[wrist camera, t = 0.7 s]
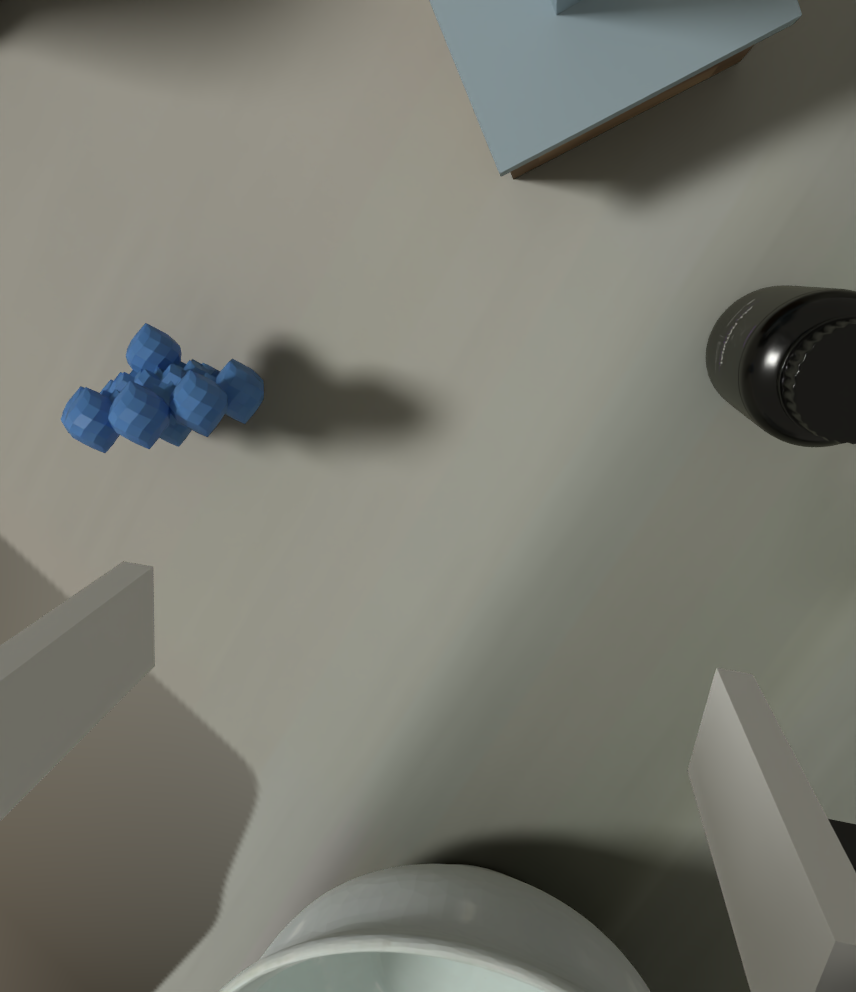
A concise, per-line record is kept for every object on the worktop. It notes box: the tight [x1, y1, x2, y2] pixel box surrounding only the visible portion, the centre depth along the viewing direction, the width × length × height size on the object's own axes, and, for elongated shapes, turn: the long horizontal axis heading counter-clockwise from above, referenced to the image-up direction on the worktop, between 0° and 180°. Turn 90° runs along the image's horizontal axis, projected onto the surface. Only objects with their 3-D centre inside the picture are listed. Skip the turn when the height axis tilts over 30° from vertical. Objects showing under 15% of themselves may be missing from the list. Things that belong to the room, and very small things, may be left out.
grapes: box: [61, 323, 264, 453], centre depth 38 cm, size 12×7×12 cm, turn 100°
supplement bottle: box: [706, 286, 856, 447], centre depth 32 cm, size 7×7×12 cm
